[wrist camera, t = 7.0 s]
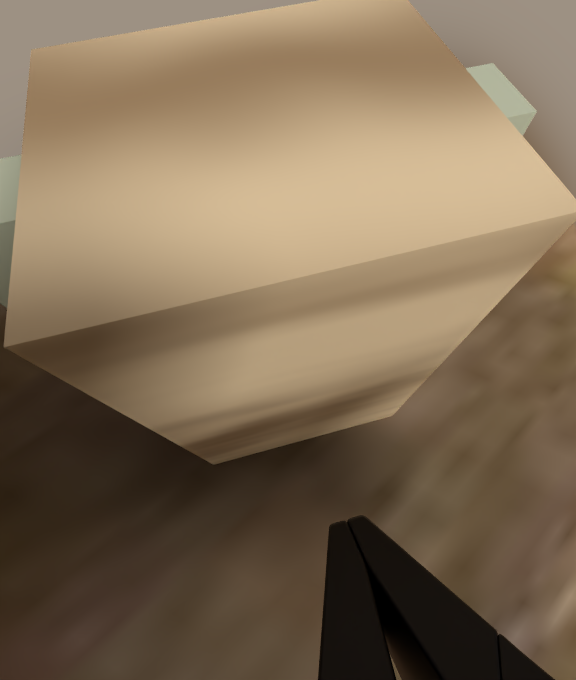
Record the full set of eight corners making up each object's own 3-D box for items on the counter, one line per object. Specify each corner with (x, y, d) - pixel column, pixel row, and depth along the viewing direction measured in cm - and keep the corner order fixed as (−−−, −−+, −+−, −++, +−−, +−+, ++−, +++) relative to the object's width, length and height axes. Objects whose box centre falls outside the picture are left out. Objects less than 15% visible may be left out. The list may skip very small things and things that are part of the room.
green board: (448, 261, 19) (536, 111, 12) (69, 352, 18) (-89, 241, 11) (425, 220, 21) (492, 63, 13) (70, 301, 19) (-71, 172, 12)
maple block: (391, 415, 16) (585, 210, 5) (213, 465, 15) (3, 347, 4) (341, 287, 19) (397, -13, 8) (190, 324, 18) (31, 49, 7)
